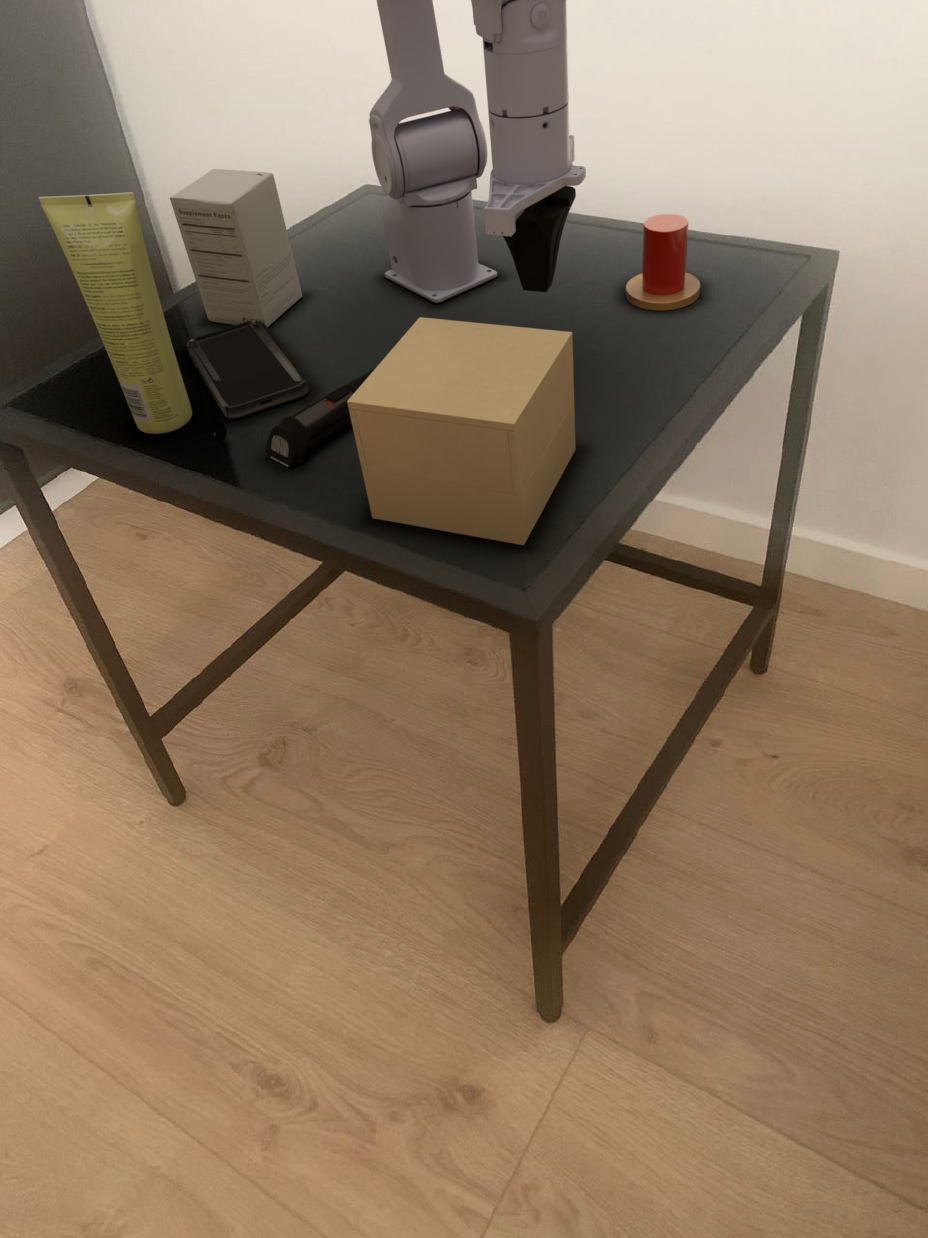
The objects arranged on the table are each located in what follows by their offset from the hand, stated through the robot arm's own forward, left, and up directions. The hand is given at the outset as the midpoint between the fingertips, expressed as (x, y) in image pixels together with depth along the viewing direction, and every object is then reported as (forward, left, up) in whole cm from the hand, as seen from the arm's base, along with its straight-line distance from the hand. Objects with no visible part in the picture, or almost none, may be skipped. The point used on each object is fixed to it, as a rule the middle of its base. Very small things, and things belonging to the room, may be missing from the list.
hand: (537, 287), depth 77 cm
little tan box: (+8, -14, -8) cm, 18 cm away
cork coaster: (-3, +18, -8) cm, 20 cm away
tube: (-19, -27, -8) cm, 34 cm away
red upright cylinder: (-3, +18, -7) cm, 20 cm away
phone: (-21, -18, -8) cm, 29 cm away
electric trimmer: (-7, -16, -8) cm, 19 cm away
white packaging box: (-32, -11, -8) cm, 35 cm away
